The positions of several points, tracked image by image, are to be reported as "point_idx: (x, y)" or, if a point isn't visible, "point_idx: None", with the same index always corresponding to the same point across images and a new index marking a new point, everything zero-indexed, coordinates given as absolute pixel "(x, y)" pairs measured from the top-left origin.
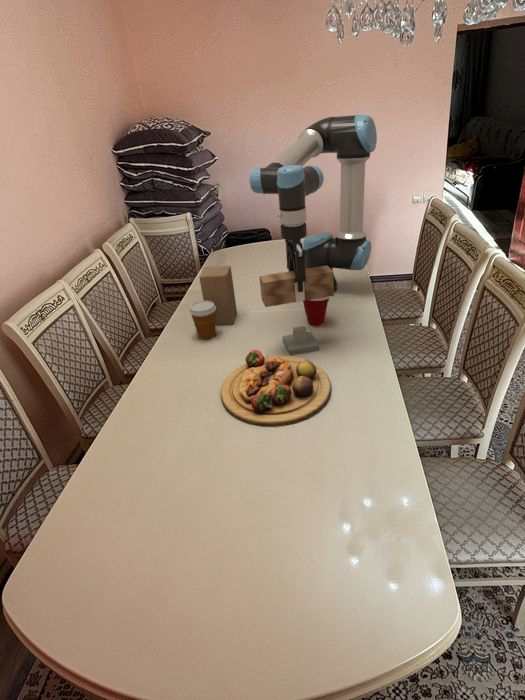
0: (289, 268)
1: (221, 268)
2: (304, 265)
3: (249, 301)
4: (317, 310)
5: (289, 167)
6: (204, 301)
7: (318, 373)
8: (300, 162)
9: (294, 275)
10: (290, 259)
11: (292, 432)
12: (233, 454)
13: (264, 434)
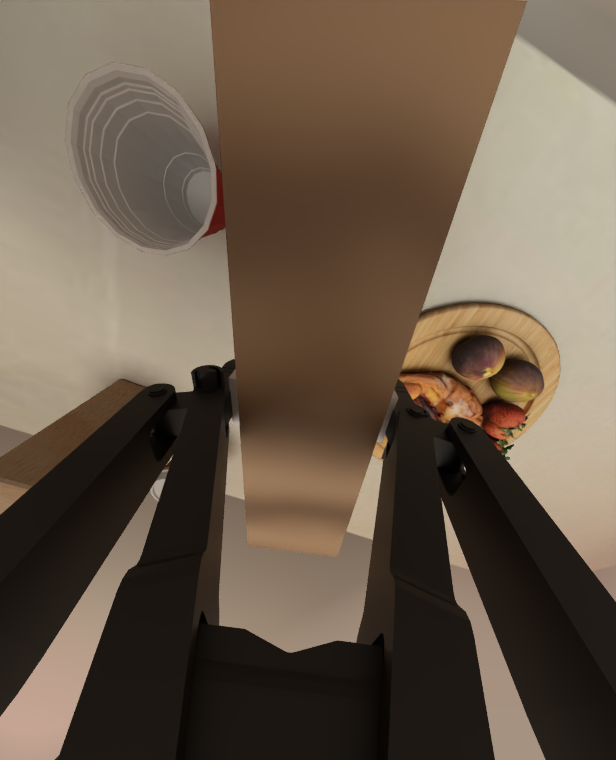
0: (226, 452)
1: (9, 499)
2: (579, 564)
3: (51, 336)
4: (221, 201)
5: None
6: (153, 487)
7: (476, 322)
8: None
9: (329, 443)
10: (220, 534)
11: (555, 411)
12: (522, 475)
13: (523, 441)
